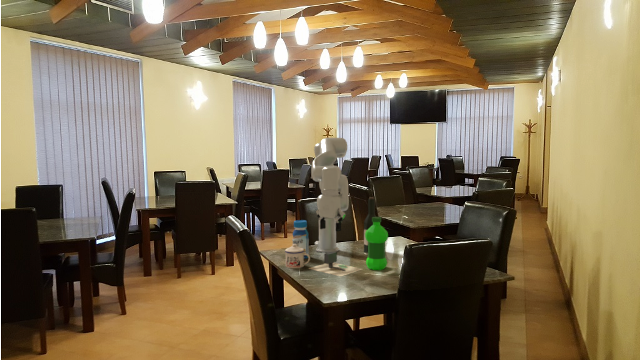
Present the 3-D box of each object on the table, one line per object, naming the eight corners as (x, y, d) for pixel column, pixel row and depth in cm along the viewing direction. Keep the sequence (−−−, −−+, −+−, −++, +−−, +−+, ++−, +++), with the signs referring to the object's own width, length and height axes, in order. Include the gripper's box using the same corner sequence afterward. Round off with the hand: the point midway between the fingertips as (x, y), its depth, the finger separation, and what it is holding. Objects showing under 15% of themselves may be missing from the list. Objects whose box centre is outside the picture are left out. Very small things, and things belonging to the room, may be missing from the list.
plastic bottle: (387, 273, 210) (387, 219, 208) (364, 273, 211) (364, 219, 209) (388, 268, 219) (388, 216, 217) (365, 267, 221) (365, 215, 219)
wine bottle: (362, 250, 257) (362, 196, 255) (377, 249, 258) (377, 196, 256) (365, 253, 249) (365, 198, 247) (380, 253, 250) (380, 198, 247)
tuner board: (308, 270, 215) (308, 268, 215) (330, 264, 227) (330, 261, 227) (340, 279, 202) (340, 276, 202) (363, 271, 214) (363, 268, 213)
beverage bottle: (312, 259, 237) (312, 220, 236) (300, 262, 231) (300, 223, 230) (300, 256, 243) (300, 219, 241) (289, 259, 237) (288, 221, 235)
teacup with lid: (283, 270, 217) (282, 246, 216) (287, 265, 226) (287, 242, 225) (308, 271, 215) (307, 246, 214) (311, 266, 224) (311, 242, 223)
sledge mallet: (324, 268, 215) (324, 253, 214) (332, 265, 219) (332, 251, 219) (340, 272, 208) (340, 257, 208) (348, 269, 213) (348, 254, 212)
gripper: (311, 192, 217) (311, 228, 218) (339, 195, 205) (339, 233, 206) (322, 191, 222) (322, 226, 223) (349, 193, 210) (349, 230, 212)
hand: (330, 229), depth 215 cm, fingers open, 9 cm apart
